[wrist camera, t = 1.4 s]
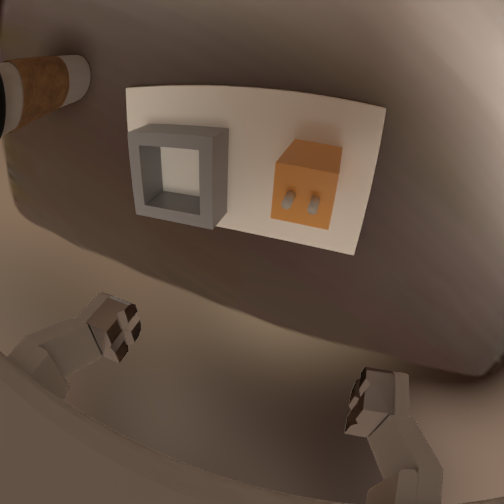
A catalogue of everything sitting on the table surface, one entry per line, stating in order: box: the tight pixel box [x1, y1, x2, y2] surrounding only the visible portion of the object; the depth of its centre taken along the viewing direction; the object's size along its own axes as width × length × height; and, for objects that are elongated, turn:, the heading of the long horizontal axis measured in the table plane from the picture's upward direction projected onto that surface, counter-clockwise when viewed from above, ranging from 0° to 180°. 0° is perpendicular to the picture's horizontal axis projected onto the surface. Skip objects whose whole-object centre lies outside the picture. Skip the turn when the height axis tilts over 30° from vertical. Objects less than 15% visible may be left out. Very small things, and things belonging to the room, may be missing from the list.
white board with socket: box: [126, 85, 386, 255], centre depth 26 cm, size 14×24×4 cm, turn 87°
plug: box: [271, 139, 343, 230], centre depth 22 cm, size 4×4×9 cm
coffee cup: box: [0, 55, 91, 138], centre depth 21 cm, size 8×8×15 cm
